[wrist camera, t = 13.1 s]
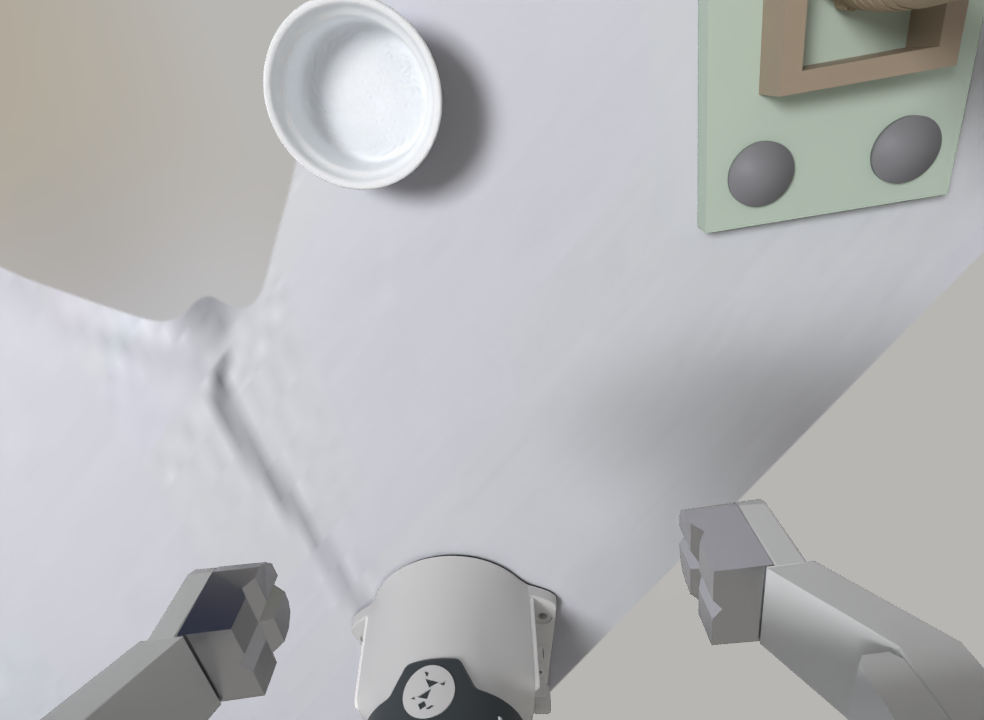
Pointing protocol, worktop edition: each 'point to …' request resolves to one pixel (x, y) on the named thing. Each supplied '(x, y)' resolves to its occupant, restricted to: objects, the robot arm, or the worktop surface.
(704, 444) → the worktop surface
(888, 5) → the handle
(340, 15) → the ramekin
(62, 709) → the robot arm
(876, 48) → the green board with frame
